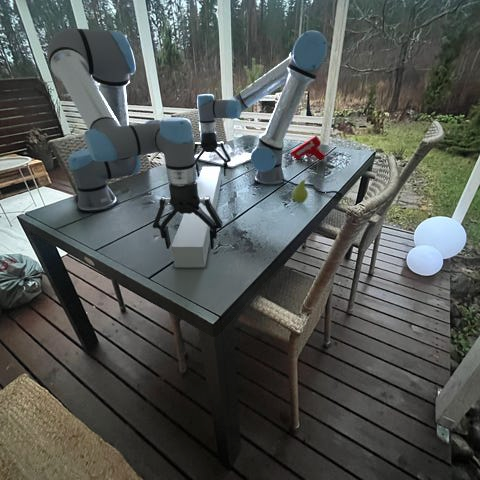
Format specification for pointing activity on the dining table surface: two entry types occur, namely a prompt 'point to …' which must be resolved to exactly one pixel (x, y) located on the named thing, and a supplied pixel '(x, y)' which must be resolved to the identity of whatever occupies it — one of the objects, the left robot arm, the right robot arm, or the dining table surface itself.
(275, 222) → the dining table surface
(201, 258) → the long white beam
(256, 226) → the dining table surface
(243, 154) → the relief map
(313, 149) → the toy gun
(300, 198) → the fruit
